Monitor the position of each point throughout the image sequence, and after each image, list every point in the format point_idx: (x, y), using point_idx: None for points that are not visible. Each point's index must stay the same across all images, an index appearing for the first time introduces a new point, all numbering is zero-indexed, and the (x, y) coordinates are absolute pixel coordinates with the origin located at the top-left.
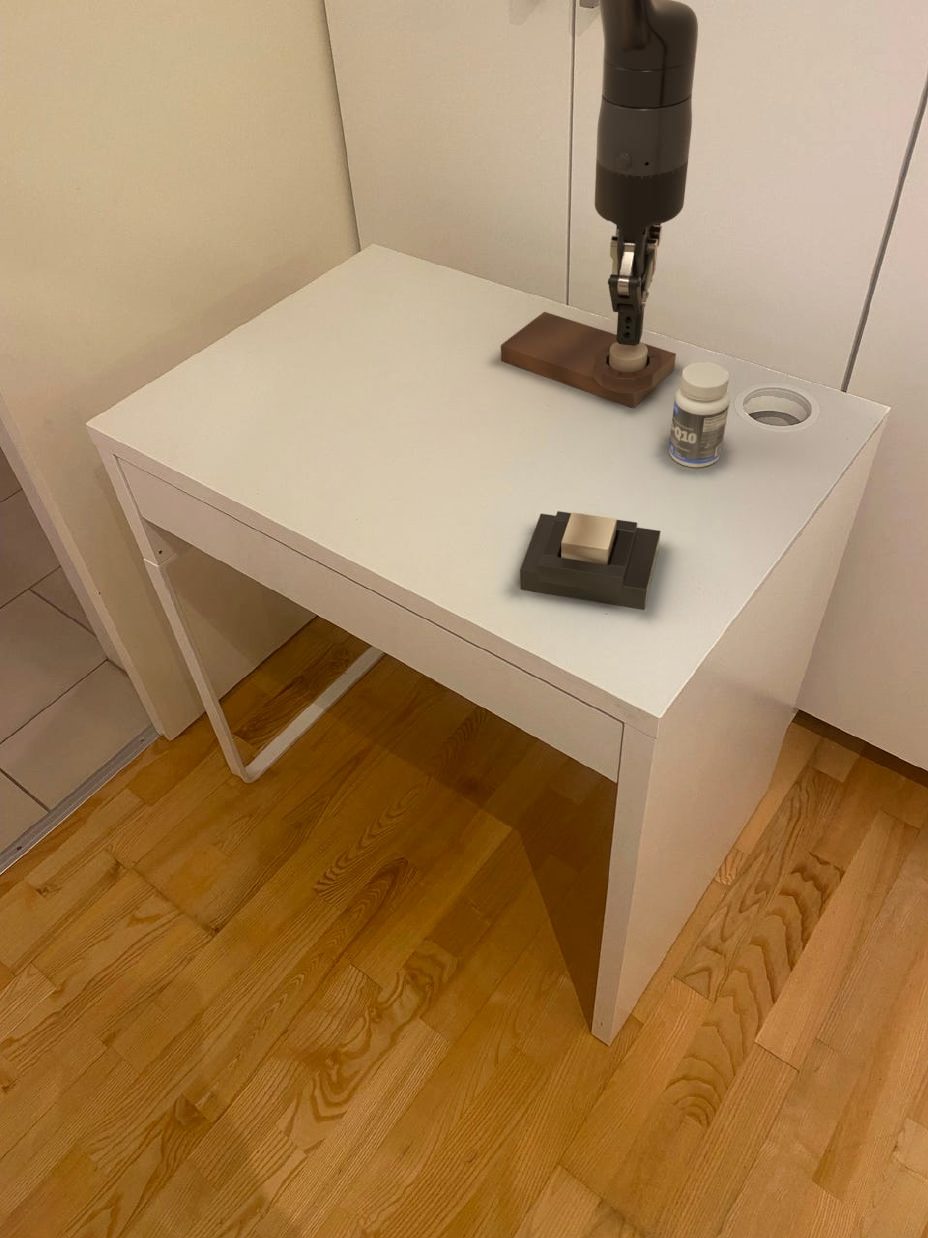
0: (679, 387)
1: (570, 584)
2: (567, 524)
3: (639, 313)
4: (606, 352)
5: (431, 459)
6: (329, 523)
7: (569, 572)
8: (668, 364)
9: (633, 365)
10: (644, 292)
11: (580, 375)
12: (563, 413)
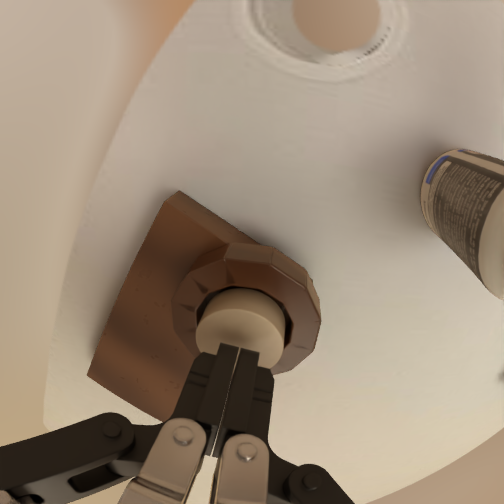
0: (500, 295)
1: None
2: None
3: (328, 473)
4: None
5: (366, 454)
6: (416, 476)
7: None
8: (195, 215)
9: (283, 330)
10: (243, 489)
11: None
12: (310, 371)
